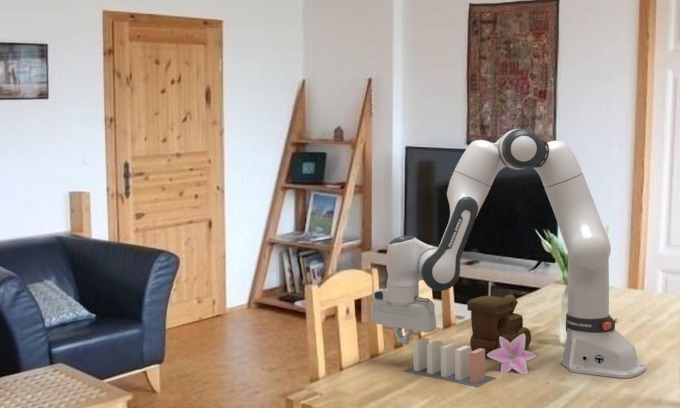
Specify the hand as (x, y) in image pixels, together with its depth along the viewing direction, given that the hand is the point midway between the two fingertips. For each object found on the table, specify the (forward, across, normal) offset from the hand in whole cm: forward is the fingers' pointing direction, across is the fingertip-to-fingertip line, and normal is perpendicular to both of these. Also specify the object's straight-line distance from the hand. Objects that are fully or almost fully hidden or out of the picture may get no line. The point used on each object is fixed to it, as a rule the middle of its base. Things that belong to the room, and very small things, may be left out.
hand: (403, 343), depth 258 cm
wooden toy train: (+7, -14, -29) cm, 33 cm away
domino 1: (+6, -6, 0) cm, 9 cm away
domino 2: (+6, -10, 0) cm, 12 cm away
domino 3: (+6, -15, 0) cm, 16 cm away
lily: (+7, -26, -14) cm, 31 cm away
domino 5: (+6, -24, 0) cm, 25 cm away
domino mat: (+7, -15, 0) cm, 16 cm away
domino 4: (+6, -20, 0) cm, 20 cm away
